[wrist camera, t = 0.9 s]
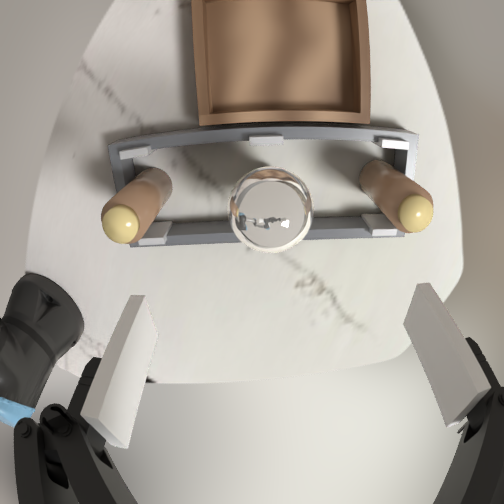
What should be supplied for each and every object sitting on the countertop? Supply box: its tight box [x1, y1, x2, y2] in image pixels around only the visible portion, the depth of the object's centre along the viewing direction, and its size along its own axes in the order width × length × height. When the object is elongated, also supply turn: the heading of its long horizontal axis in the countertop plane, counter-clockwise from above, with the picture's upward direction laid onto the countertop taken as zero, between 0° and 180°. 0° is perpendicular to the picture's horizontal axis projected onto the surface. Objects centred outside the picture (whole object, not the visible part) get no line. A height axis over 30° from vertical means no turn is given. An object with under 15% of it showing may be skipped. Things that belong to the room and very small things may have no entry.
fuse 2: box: [359, 160, 433, 233], centre depth 26 cm, size 4×4×10 cm
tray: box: [191, 0, 371, 126], centre depth 22 cm, size 16×14×3 cm
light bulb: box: [227, 166, 314, 253], centre depth 26 cm, size 7×7×12 cm
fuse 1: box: [101, 168, 172, 244], centre depth 27 cm, size 4×4×10 cm
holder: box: [108, 123, 419, 247], centre depth 29 cm, size 31×12×4 cm, turn 93°
